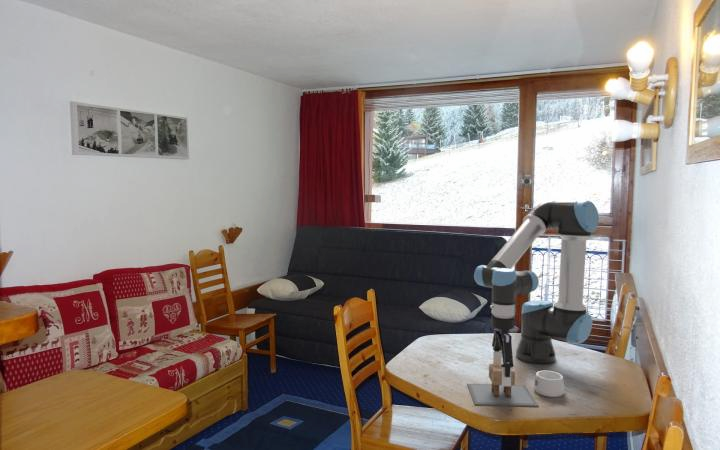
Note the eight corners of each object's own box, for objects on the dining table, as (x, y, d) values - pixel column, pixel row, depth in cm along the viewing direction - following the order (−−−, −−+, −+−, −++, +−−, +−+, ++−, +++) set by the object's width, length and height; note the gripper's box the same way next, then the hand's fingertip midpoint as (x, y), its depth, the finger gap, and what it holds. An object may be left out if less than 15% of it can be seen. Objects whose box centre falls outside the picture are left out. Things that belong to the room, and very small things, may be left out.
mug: (568, 398, 165) (568, 381, 164) (538, 397, 166) (538, 380, 165) (557, 384, 177) (557, 367, 176) (529, 383, 177) (529, 366, 177)
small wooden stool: (488, 389, 171) (489, 363, 170) (509, 389, 170) (509, 363, 169) (492, 398, 164) (493, 371, 163) (514, 398, 163) (515, 371, 163)
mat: (524, 386, 174) (524, 384, 174) (538, 406, 158) (538, 405, 158) (467, 384, 176) (467, 383, 176) (475, 405, 160) (475, 403, 160)
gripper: (484, 305, 177) (483, 363, 179) (499, 326, 152) (498, 393, 154) (505, 306, 177) (504, 364, 179) (524, 326, 152) (522, 393, 154)
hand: (501, 377), depth 166 cm, fingers open, 13 cm apart
